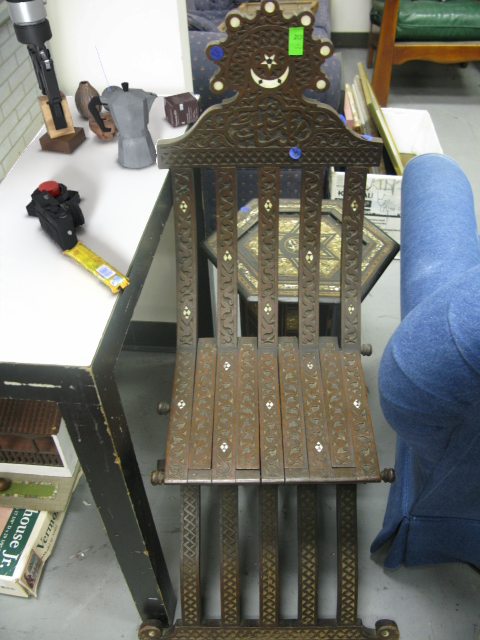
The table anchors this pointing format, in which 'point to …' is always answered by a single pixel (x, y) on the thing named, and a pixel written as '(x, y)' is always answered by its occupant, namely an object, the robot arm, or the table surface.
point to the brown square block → (63, 141)
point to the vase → (85, 98)
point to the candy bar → (97, 266)
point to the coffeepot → (129, 124)
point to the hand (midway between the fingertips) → (58, 124)
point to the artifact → (108, 124)
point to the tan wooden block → (49, 120)
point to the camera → (58, 218)
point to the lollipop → (109, 91)
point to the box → (181, 109)
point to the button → (50, 187)
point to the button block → (57, 198)
